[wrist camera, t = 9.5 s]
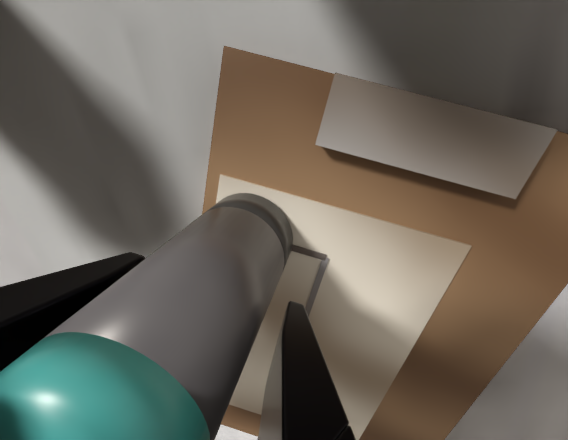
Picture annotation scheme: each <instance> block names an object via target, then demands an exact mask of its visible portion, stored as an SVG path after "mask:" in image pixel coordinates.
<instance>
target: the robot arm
mask: <svg viewBox="0 0 568 440" xmlns="http://www.w3.org/2000/svg"><path fill="white" fill-rule="evenodd" d="M144 259H145V257H144V256H142V255H139V254H136V253H132V252H129V253H125V254H121V255H117V256H114V257H110V258H106V259H103V260H99V261H95V262H92V263H88V264H84V265H80V266H77V267H73V268H69V269H66V270H62V271H58V272H54V273H51V274H47V275H43V276H40V277H36V278H32V279H28V280H25V281H21V282H17V283H14V284H10V285H6V286H2V287H0V371H2V370H3V369H4V368H6V367H7V366H8V365H9V364H11V363H12V362H13V361H15V360H16V359H17V358H18V357H20V356H21V355H22V354H24V353H25V352H26V351H27V350H29V349H30V348H31V347H33V346H34V345H35V344H36V343H38V342H39V341H40V340H42V339H43V338H44V337H45V336H47V335H48V334H49V333H51V332H52V331H53V330H54V329H56V328H57V327H58V326H60V325H61V324H62V323H63V322H65V321H66V320H67V319H69V318H70V317H71V316H72V315H74V314H75V313H76V312H78V311H79V310H80V309H81V308H83V307H84V306H85V305H87V304H88V303H89V302H90V301H92V300H93V299H94V298H96V297H97V296H98V295H99V294H101V293H102V292H103V291H105V290H106V289H107V288H108V287H110V286H111V285H112V284H114V283H115V282H116V281H117V280H119V279H120V278H121V277H123V276H124V275H125V274H126V273H128V272H129V271H130V270H132V269H133V268H134V267H135V266H137V265H138V264H139V263H141V262H142V261H143V260H144ZM348 425H349V421H348V418H347V416H346V413H345V411H344V408H343V405H342V403H341V400H340V398H339V395H338V392H337V390H336V387H335V385H334V382H333V379H332V377H331V374H330V372H329V369H328V366H327V364H326V361H325V359H324V356H323V353H322V351H321V348H320V346H319V343H318V341H317V338H316V335H315V333H314V330H313V328H312V325H311V322H310V320H309V317H308V315H307V312H306V309H305V307H304V305H303V304H300V303H297V302H294V301H289V302H288V305H287V308H286V311H285V315H284V318H283V321H282V325H281V328H280V332H279V335H278V339H277V343H276V347H275V351H274V354H273V358H272V362H271V366H270V370H269V373H268V378H267V382H266V387H265V393H264V399H263V406H262V413H261V420H260V428H259V435H258V440H356V439H355V436H354V434H353V431H352V428H351V426H348Z"/></svg>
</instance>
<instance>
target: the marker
mask: <svg viewBox="0 0 568 440" xmlns="http://www.w3.org/2000/svg"><path fill="white" fill-rule="evenodd" d="M292 245H293V233H292V229H291V226H290V223H289V221H288V219H287V217H286V216H285V215H284V213H283V212H282V211H281V210H280V208H279V207H277V206H276V205H275V204H274V203H273V202H271V201H270V200H268V199H266V198H264V197H262V196H259V195H256V194H251V193H237V194H232V195H229V196H227V197H225V198H223V199H222V200H220V201H219V202H218V203H216V204H215V205H214V206H213V207H211V208H210V209H209V210H207V211H206V212H205V213H204V214H202V215H201V216H200V217H198V218H197V219H196V220H195V221H193V222H192V223H191V224H189V225H188V226H187V227H186V228H184V229H183V230H182V231H180V232H179V233H178V234H177V235H175V236H174V237H173V238H171V239H170V240H169V241H168V242H166V243H165V244H164V245H162V246H161V247H160V248H159V249H157V250H156V251H155V252H153V253H152V254H151V255H150V256H148V257H147V258H146V259H144V260H143V261H142V262H141V263H139V264H138V265H137V266H135V267H134V268H133V269H132V270H130V271H129V272H128V273H126V274H125V275H124V276H123V277H121V278H120V279H119V280H117V281H116V282H115V283H114V284H112V285H111V286H110V287H108V288H107V289H106V290H105V291H103V292H102V293H101V294H99V295H98V296H97V297H96V298H94V299H93V300H92V301H90V302H89V303H88V304H87V305H85V306H84V307H83V308H81V309H80V310H79V311H78V312H76V313H75V314H74V315H72V316H71V317H70V318H69V319H67V320H66V321H65V322H63V323H62V324H61V325H60V326H58V327H57V328H56V329H54V330H53V331H52V332H51V333H49V334H48V335H47V336H45V337H44V338H43V339H42V340H40V341H39V342H38V343H36V344H35V345H34V346H33V347H31V348H30V349H29V350H27V351H26V352H25V353H24V354H22V355H21V356H20V357H18V358H17V359H16V360H15V361H13V362H12V363H11V364H9V365H8V366H7V367H6V368H4V369H3V370H2V371H0V440H215V437H216V435H217V432H218V430H219V427H220V425H221V422H222V420H223V417H224V415H225V412H226V410H227V408H228V405H229V403H230V400H231V398H232V395H233V393H234V390H235V388H236V385H237V383H238V381H239V378H240V376H241V373H242V371H243V368H244V366H245V363H246V361H247V358H248V356H249V354H250V351H251V349H252V346H253V344H254V341H255V339H256V336H257V334H258V331H259V329H260V327H261V324H262V322H263V319H264V317H265V314H266V312H267V309H268V307H269V304H270V302H271V300H272V297H273V295H274V292H275V290H276V287H277V285H278V282H279V280H280V277H281V275H282V273H283V270H284V268H285V265H286V263H287V260H288V258H289V255H290V253H291V250H292Z"/></svg>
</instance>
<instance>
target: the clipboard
mask: <svg viewBox="0 0 568 440" xmlns="http://www.w3.org/2000/svg"><path fill="white" fill-rule="evenodd" d="M237 193H251V194H256V195H259V196H262V197H264V198H266V199H268V200H270V201H271V202H273V203H274V204H275V205H276V206H277V207H279V208H280V210H281V211H282V212H283V213H284V215H285V216H286V217H287V219H288V221H289V223H290V226H291V229H292V233H293V245H292V250H291V253H290V255H289V258H288V260H287V263H286V265H285V268H284V270H283V273H282V275H281V277H280V280H279V282H278V285H277V287H276V290H275V292H274V295H273V297H272V300H271V302H270V304H269V307H268V309H267V312H266V314H265V317H264V319H263V322H262V324H261V327H260V329H259V331H258V334H257V336H256V339H255V341H254V344H253V346H252V349H251V351H250V354H249V356H248V358H247V361H246V363H245V366H244V368H243V371H242V373H241V376H240V378H239V381H238V383H237V385H236V388H235V390H234V393H233V395H232V398H231V400H230V403H229V405H228V408H227V410H226V412H225V415H224V417H223V420H222V422H221V424H222V425H225V426H228V427H231V428H234V429H237V430H240V431H243V432H246V433H249V434H252V435H255V436H258V435H259V428H260V420H261V413H262V406H263V399H264V393H265V387H266V382H267V378H268V373H269V370H270V366H271V362H272V358H273V354H274V351H275V347H276V343H277V339H278V335H279V332H280V328H281V325H282V321H283V318H284V315H285V311H286V308H287V305H288V302H289V301H294V302H297V303H300V304H303V305H304V307H305V309H306V312H307V315H308V317H309V320H310V322H311V325H312V328H313V330H314V333H315V335H316V338H317V341H318V343H319V346H320V348H321V351H322V353H323V356H324V359H325V361H326V364H327V366H328V369H329V372H330V374H331V377H332V379H333V382H334V385H335V387H336V390H337V392H338V395H339V398H340V400H341V403H342V405H343V408H344V411H345V413H346V416H347V418H348V421H349V425H348V426H351V428H352V431H353V434H354V436H355V439H356V440H444V439H445V438H446V437H447V435H448V434H449V433H450V432H451V430H452V429H453V428H454V427H455V425H456V424H457V423H458V421H459V420H460V419H461V418H462V416H463V415H464V414H465V413H466V411H467V410H468V409H469V408H470V406H471V405H472V404H473V402H474V401H475V400H476V399H477V397H478V396H479V395H480V394H481V392H482V391H483V390H484V389H485V387H486V386H487V385H488V384H489V382H490V381H491V380H492V378H493V377H494V376H495V375H496V373H497V372H498V371H499V370H500V368H501V367H502V366H503V365H504V363H505V362H506V361H507V359H508V358H509V357H510V356H511V354H512V353H513V352H514V351H515V349H516V348H517V347H518V346H519V344H520V343H521V342H522V341H523V339H524V338H525V337H526V335H527V334H528V333H529V332H530V330H531V329H532V328H533V327H534V325H535V324H536V323H537V322H538V320H539V319H540V318H541V316H542V315H543V314H544V313H545V311H546V310H547V309H548V308H549V306H550V305H551V304H552V303H553V301H554V300H555V299H556V298H557V296H558V295H559V294H560V292H561V291H562V290H563V289H564V287H565V286H566V285H567V284H568V134H566V133H563V132H559V131H557V129H553V128H549V127H546V126H542V125H538V124H534V123H530V122H526V121H522V120H518V119H514V118H510V117H506V116H503V115H499V114H495V113H491V112H487V111H483V110H479V109H475V108H471V107H467V106H463V105H460V104H456V103H452V102H448V101H444V100H440V99H436V98H432V97H428V96H424V95H420V94H417V93H413V92H409V91H405V90H401V89H397V88H393V87H389V86H385V85H381V84H377V83H374V82H370V81H366V80H362V79H358V78H354V77H350V76H346V75H342V74H338V73H335V74H332V73H328V72H324V71H321V70H317V69H313V68H309V67H305V66H301V65H297V64H293V63H289V62H285V61H282V60H278V59H274V58H270V57H266V56H262V55H258V54H254V53H250V52H246V51H243V50H239V49H235V48H231V47H227V46H224V49H223V56H222V64H221V72H220V80H219V88H218V95H217V103H216V111H215V119H214V126H213V134H212V142H211V150H210V158H209V165H208V173H207V181H206V189H205V197H204V204H203V212H202V214H204V213H205V212H206V211H207V210H209V209H210V208H211V207H213V206H214V205H215V204H216V203H218V202H219V201H220V200H222V199H223V198H225V197H227V196H229V195H232V194H237Z"/></svg>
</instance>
